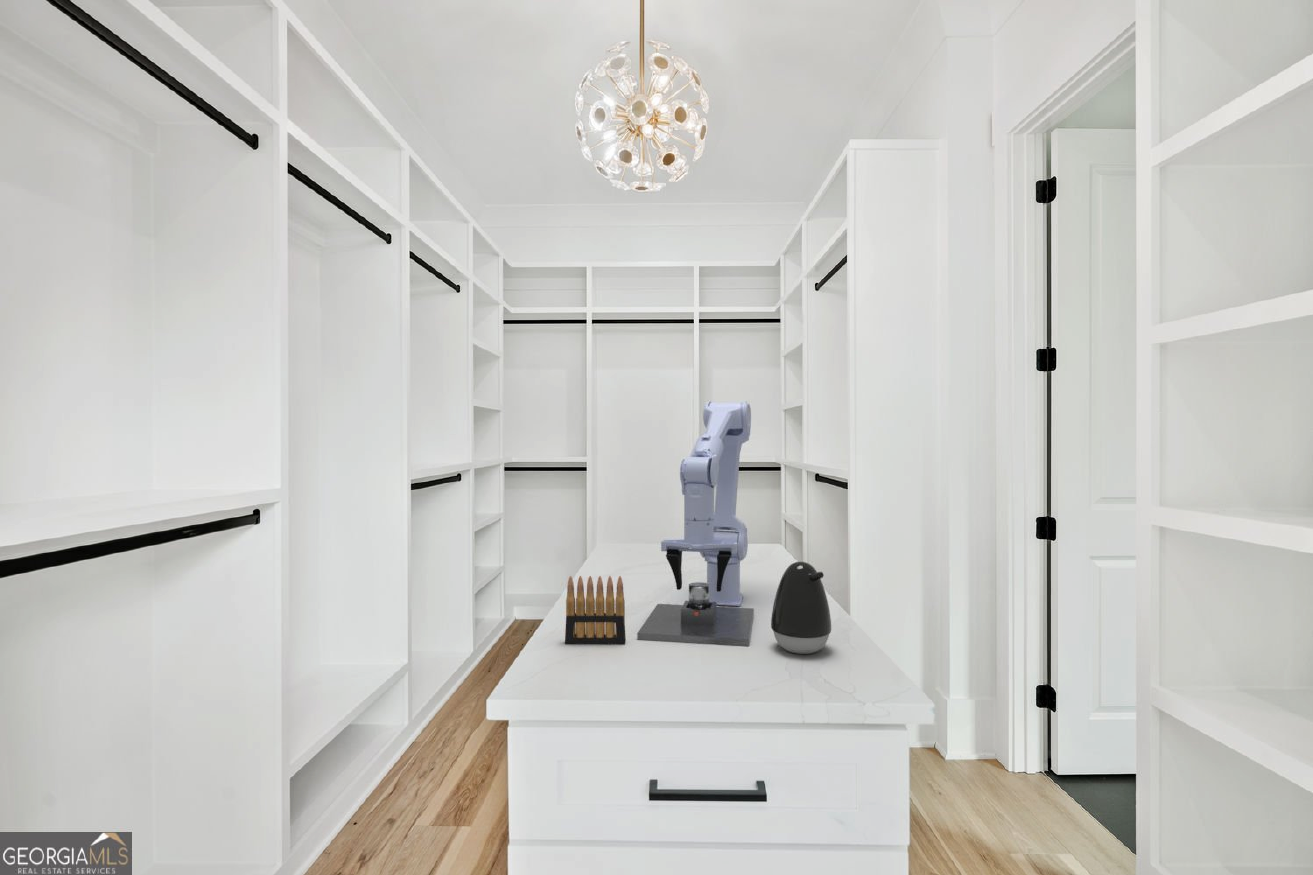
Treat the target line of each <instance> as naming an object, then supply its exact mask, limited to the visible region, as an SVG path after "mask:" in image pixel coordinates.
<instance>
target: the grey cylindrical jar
mask: <svg viewBox="0 0 1313 875" xmlns="http://www.w3.org/2000/svg"><path fill="white" fill-rule="evenodd" d="M688 601H689V608H693V609H710V585H709V584H708V583H707V582H702V581H701V582H699V581H697V582H691V583H689V584H688Z"/></svg>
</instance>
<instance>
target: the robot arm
mask: <svg viewBox="0 0 1313 875" xmlns="http://www.w3.org/2000/svg"><path fill="white" fill-rule="evenodd" d="M702 413H703V415H702V418H703V425H704V427H705V432H704V434H701V435H700V436H699V437H698V438H697V439H696V441H695V443H694V446H693V448H692V450H691V453H690V455H689V456H686V457H685V459H682V460H681V463H680V469H679V478H680V480H679V481H680V483H681V493H682V496H683V497H684V498H683V502H684V504H683V510H684V511H683V513H684V514H683V518H684V519H683V521H684V523H683V524H684V525H683V527H684V528H683V532H684V533H683V534H684V535H683V537H684V538H683V539H662V540H661V541H660V551H661V552H666V555H665V558H666V560H667V562H668V564H669V566H670V569H671V571H672V573H673V577H674V580H675V581H674V582H675V585H676V586H675V587H676V590H678V591H679V590H681V589H682V587H683V574H682V562H683V552H692V553H694V552H695V553H699V554H700V556H701V558H703V559H704V562H706V583H708V584H709V585H710V602H717V606H732V607H733V606H734V607H735V606H737V607H741V605H742V601H743V597H744V593H742V592H741V561H744V560H745V558H746V557H747V554H748V544H749V543H748V528H747V526H746V524H745V523H744V522H743V521H742V520H740V519H739V518H738V517H737V516H736V512H737V500H738V498H737V497H738V487H739V483H738V482H739V472H740V471H739V470H740V469H739V468H740V456H741V455H740V454H741V450H742V446H743V444H744V443H746V442H748V441H749V440H750V435H751V427H752V426H751V425H752V408H751V405H750V403H749V402H748V401H747V400H744V401H720V402H719V401H718V402H717V401H716V402H712V401H707V402H706V403H705V405H704V407H703V412H702ZM715 488H716V489H715Z"/></svg>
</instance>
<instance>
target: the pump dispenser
mask: <svg viewBox="0 0 1313 875" xmlns="http://www.w3.org/2000/svg"><path fill="white" fill-rule="evenodd" d="M783 572H784V573H782V574H783V575H782V577H781V579H780V581H779V584H778V586H777V590H776V594H775V598H774V601H773V604H772V605H773V606H772V611H771V618H770V619H771V620H770V628H771V629H772V630H771V631H773V635H774V636H773V637H775V640H776V642H777V644H778V645H779V646H780V647H781V648H783V649H784V650H786V651H788V652H789V653H792V654H798V655H811V654H813V653H816V652H818V651H820V650H822V649H823V648H824V647H825V646H826V644H827V643H828V640H829V637H830V634H831V633H832V618H831V611H830V605H829V601H828V598H827V593H826V591H825V587H824V585H823V581H822V578H824V572H823V571H817V570H816V568H815V567H814V566H813V565H812V564H810V563H808V562H806V561H795V562H793V563H791V564H789V566H788V567H787V568H786V569H785V570H784V571H783Z"/></svg>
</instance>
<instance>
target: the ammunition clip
mask: <svg viewBox="0 0 1313 875" xmlns="http://www.w3.org/2000/svg"><path fill="white" fill-rule="evenodd" d="M566 588H567V589H566V590H567V591H566V600H565V630H564V631H565V633H564V635H565V637H564V644H565V645H583V646H585V645H587V646H589V645H593V646H594V645H598V646H599V645H601V646H602V645H605V646H606V645H607V646H608V645H611V646H612V645H619V646H620V645H621V646H623V645H626V641H627V640H626V618H625V617H626V613H625V612H626V611H625V610H626V609H625V606H626V604H625V601H626V600H625V596H624V582H623V578H622V576H621V575H619V576H618V579H617V582H616V593H614V583H613V579H612V576H611V575H609V576H608V579H607V582H606V593H605V594H606V595H604V583H603V579H602V577H601V575H599V576H598V578H597V582H596V596H595V593H594V592H595V591H594V581H593V577H592V576H591V575H589V577H588V579H587V584H586V598H585V592H584V591H585V586H584V581H583V577H582V575H579V577H578V580H577V587H576V589H577V590H576V597H575V584H574V580H573V577H572V575H570V576H569V578H568V581H567V587H566ZM614 594H616V595H614ZM604 596H605V597H604ZM615 596H616V597H615Z"/></svg>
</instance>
